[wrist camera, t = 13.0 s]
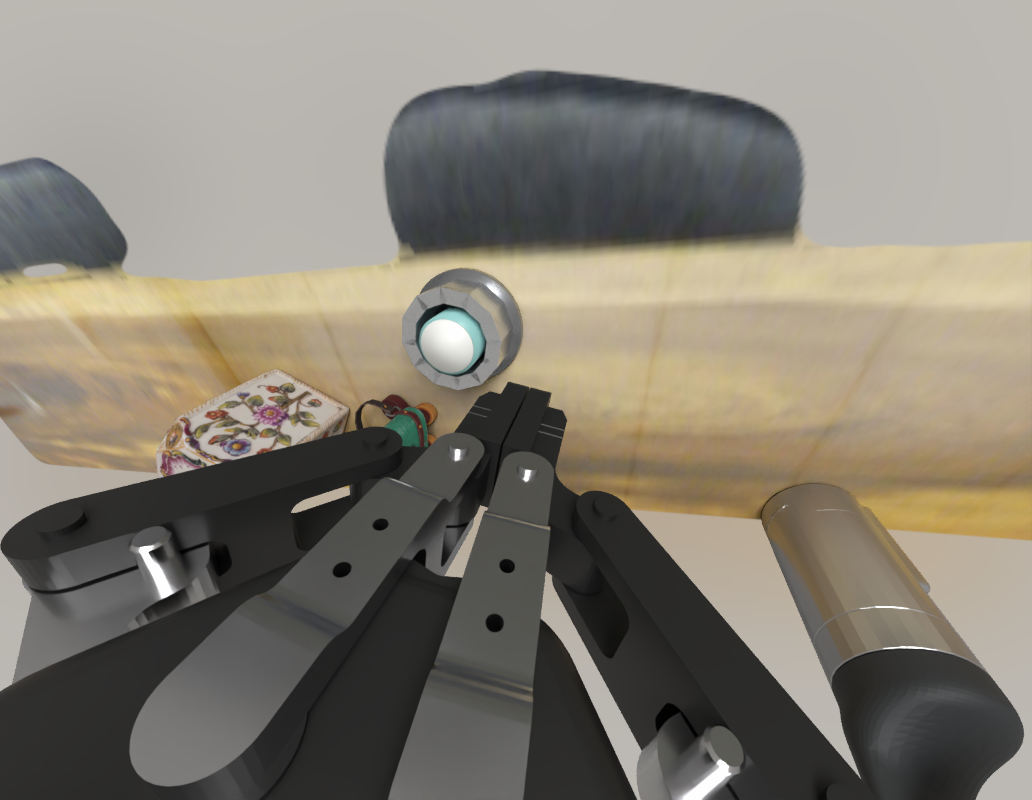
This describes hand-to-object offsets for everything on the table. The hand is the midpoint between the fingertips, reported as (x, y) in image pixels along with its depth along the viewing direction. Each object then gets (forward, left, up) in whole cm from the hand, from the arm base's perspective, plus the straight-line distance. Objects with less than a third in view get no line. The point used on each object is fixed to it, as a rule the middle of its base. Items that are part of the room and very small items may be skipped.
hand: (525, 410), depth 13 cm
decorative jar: (+33, +27, -27) cm, 51 cm away
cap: (+11, +8, -26) cm, 29 cm away
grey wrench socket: (+11, +8, -27) cm, 30 cm away
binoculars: (+18, +23, -27) cm, 40 cm away
